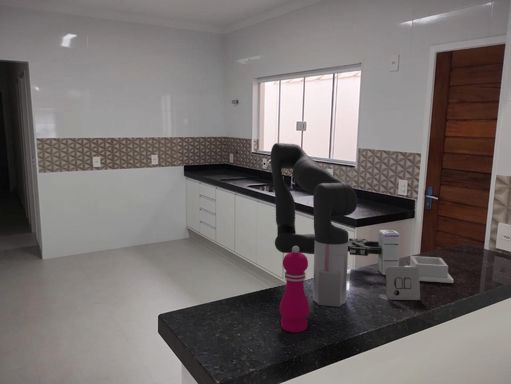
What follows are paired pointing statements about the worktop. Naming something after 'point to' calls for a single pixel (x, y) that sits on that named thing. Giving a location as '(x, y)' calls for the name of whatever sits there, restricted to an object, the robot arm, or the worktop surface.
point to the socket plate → (431, 269)
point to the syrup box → (388, 250)
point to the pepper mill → (294, 292)
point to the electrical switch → (402, 283)
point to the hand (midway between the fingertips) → (380, 247)
